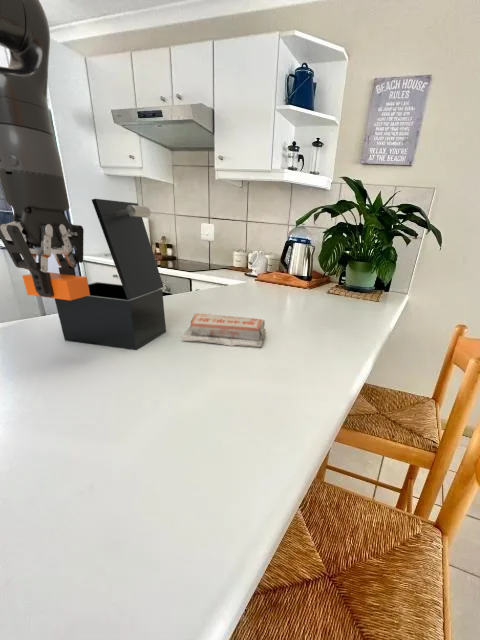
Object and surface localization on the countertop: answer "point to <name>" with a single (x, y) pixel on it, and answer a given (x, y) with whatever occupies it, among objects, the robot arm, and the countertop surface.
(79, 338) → the bin
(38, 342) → the countertop surface
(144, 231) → the bin lid
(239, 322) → the packaged product
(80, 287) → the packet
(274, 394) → the countertop surface
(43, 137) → the robot arm
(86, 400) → the countertop surface
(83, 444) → the countertop surface
